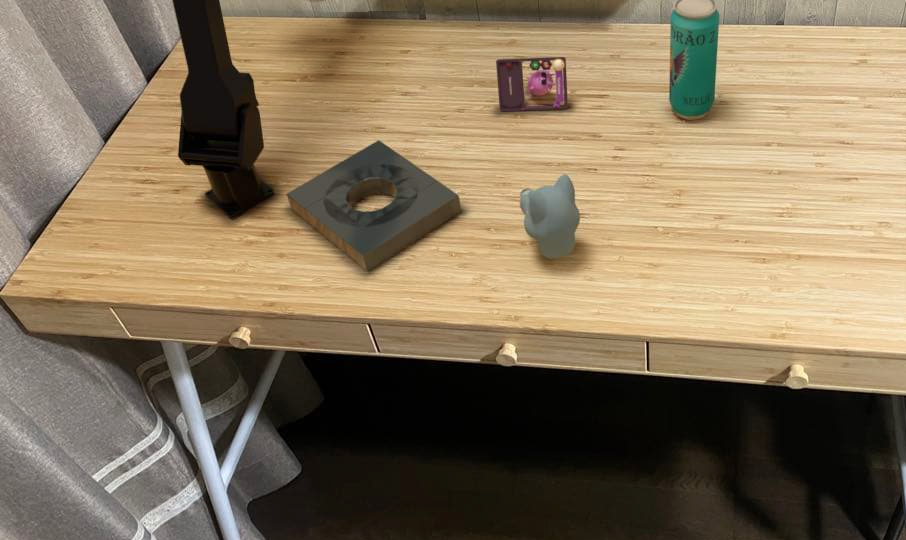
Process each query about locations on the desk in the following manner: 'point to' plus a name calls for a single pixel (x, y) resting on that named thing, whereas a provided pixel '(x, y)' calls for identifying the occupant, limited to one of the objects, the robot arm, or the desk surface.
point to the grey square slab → (379, 230)
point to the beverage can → (693, 57)
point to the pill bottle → (316, 0)
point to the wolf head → (551, 217)
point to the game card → (530, 82)
